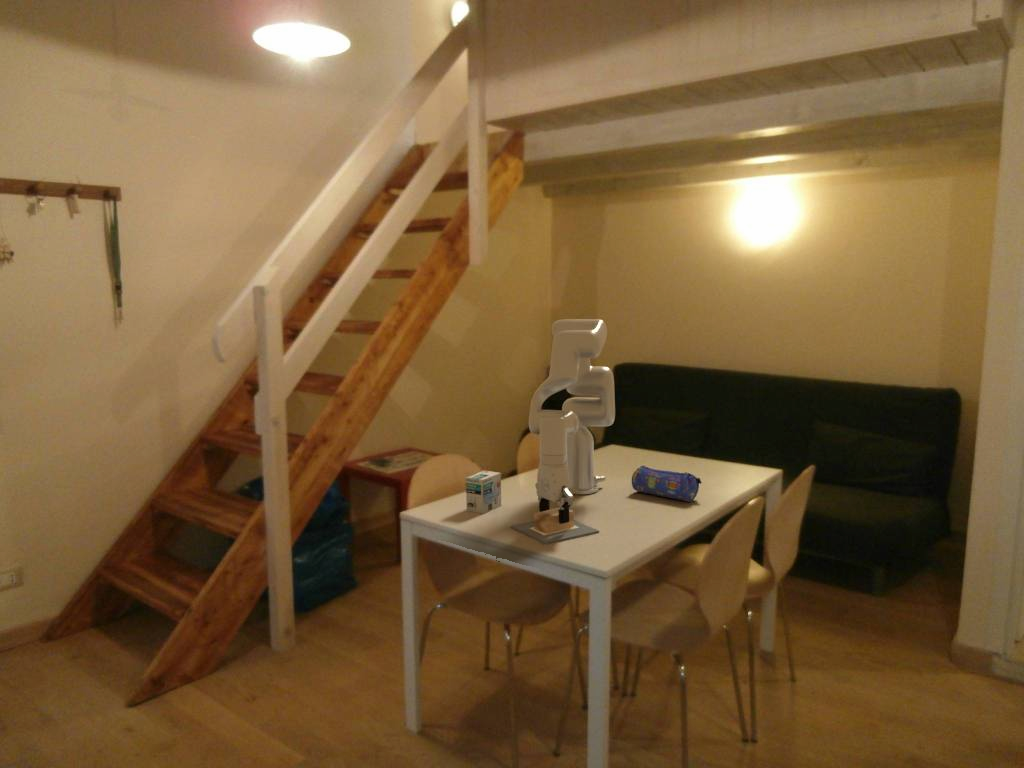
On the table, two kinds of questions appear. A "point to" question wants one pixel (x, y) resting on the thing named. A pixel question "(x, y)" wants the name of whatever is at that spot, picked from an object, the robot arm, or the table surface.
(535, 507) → the table surface
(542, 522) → the tan rectangular block
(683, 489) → the pencil case
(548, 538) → the mat
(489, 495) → the light bulb box
